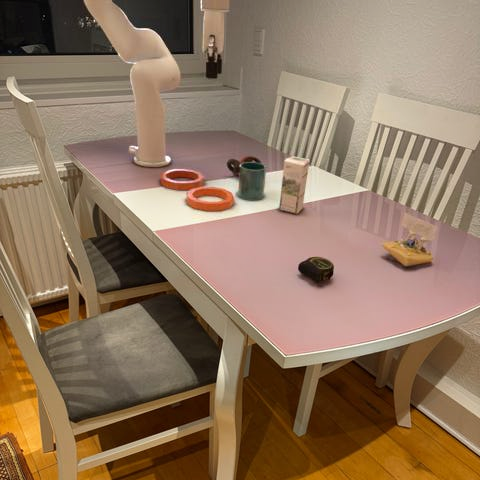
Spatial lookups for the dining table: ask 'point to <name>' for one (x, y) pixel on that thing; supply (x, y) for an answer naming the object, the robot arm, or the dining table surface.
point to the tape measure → (317, 269)
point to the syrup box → (293, 184)
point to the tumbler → (251, 180)
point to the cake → (412, 242)
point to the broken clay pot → (237, 163)
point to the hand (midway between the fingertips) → (214, 75)
